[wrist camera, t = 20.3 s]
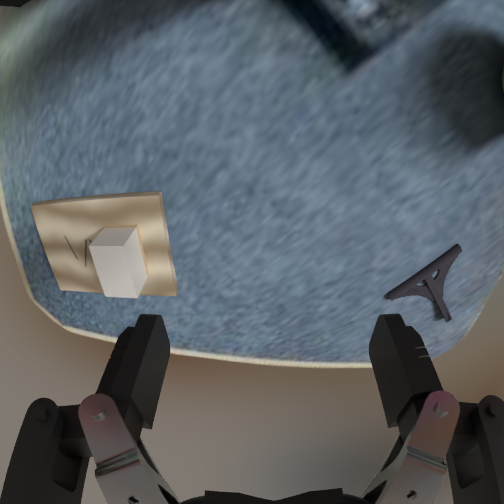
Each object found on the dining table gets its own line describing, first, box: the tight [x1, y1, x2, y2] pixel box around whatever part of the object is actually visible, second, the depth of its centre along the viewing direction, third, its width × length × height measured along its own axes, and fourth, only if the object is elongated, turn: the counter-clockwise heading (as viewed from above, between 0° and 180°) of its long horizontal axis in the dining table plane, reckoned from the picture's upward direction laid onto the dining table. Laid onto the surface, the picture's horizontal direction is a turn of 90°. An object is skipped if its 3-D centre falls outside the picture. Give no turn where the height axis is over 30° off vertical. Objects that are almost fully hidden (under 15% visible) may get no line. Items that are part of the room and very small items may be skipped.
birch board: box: [31, 191, 178, 296], centre depth 42 cm, size 16×22×2 cm
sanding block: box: [89, 225, 149, 298], centre depth 39 cm, size 8×5×6 cm, turn 1°
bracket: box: [387, 244, 462, 322], centre depth 45 cm, size 14×15×3 cm
